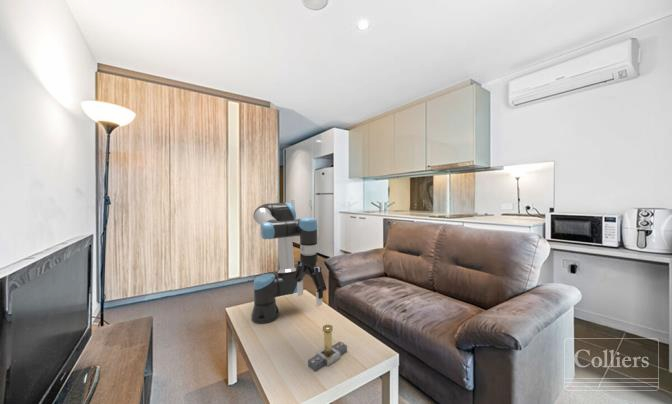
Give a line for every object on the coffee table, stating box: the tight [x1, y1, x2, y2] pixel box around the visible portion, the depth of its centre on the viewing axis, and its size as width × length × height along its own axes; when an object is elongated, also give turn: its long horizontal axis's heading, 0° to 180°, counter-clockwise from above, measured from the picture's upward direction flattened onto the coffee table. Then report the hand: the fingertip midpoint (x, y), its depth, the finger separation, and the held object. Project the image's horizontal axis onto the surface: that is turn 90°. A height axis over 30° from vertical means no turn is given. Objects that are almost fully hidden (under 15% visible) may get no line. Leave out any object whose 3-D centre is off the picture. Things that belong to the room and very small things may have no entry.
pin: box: [322, 324, 334, 358], centre depth 108 cm, size 4×4×14 cm
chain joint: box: [307, 341, 348, 372], centre depth 108 cm, size 18×7×3 cm, turn 133°
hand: (309, 299), depth 114 cm, fingers open, 13 cm apart
